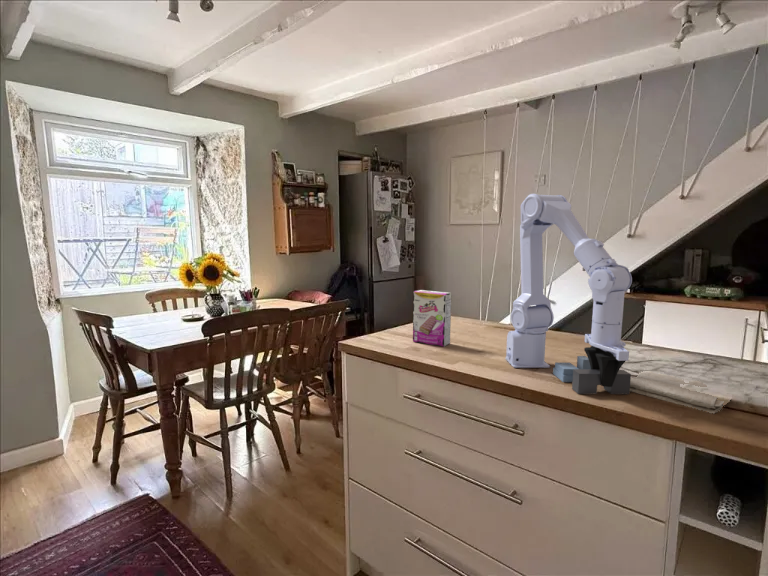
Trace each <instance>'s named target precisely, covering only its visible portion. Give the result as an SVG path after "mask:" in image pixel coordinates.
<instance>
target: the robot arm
mask: <svg viewBox="0 0 768 576" xmlns="http://www.w3.org/2000/svg"><path fill="white" fill-rule="evenodd" d="M553 225H556V227H557V228H558V229H559V230H560V231H561V232H562V234H563V235H564V236H565V237H566V239H568V241H569V242H570V243H571V244H572V246H573V247H574V250H573V256H574V257H575V259H576V260H577V261H578V262H579V264H580V266H581V267H582V268H583V269H584V270H585V273H586V274H587V275H588V276H589V278H588V279H587V283H588V286H589V288H590V290H591V298H592V301H593V304H592V316H591V317H592V318H591V320H592V321H591V330H590V331H591V332H590V333H585V334H584V343H586V344H589V345H590V347H589V346H588V347H586V346H585V347H584V348H583V349H584V352H585V355H586V357H588V359H589V362H590V367H591V369H600V382H601V385H600V386H601V387H603V388H604V387H612V385H613V383H614V380H615V378H616V375H617V373H618V371H619V370H621V368H622V366H623V365H624V364H625V363H626V362H628V361H630V360H629V357H630V356H629V355H630V351H629V350H627V349H626V348H625V347H626V344H627V343H626V342H624V341H622V330H623V329H622V328H623V317H624V306H625V305H624V303H625V294H626V293H625V292H626V291H628V290H629V289H630V287H631V285H632V283H633V277H632V274H631V271H630V270H629V268H628V267H627V266H624V265H621V264H618V263H617V261H616V260H615V258H612V257H611V255H610V254H609V253H608V251H607V250H606V248H605V244H604V243H603V242H602V241H601V240H598V239H597V238H590V237H589V235H588V234H587V233H586V231H585V230H584V228H583V226H582V225H581V223H580V221H579V220H578V219H577V217H576V216H575V214H574V212H573V211H572V204H571V203H570V202H569V201H568V200H567V197H565V196H564V195H561V194H556V195H555V194H552V195H551V194H538V193H530V194H528V195H527V196H526V197H525V199H523V201H522V202H521V204H520V225H519V243H520V244H519V246H520V247H519V248H520V250H519V251H520V288H521V292H520V293H521V294H520V295H519V296H518V297H517V298H516V299H514V301H513V302H512V310H511V313H510V321H511V324H512V326H513V328H514V330H510V331H507V336H506V350H505V351H506V353H505V354H506V355H505V360H506V361H507V362H508V363H509V365H511V367H513V368H521V369H522V368H523V369H524V368H525V369H526V368H527V369H528V368H531V369H532V368H533V369H534V368H539V369H540V368H543V369H544V368H545V369H546V368H551V365H550V364H548V363H547V361H545V359H546V357H545V356H546V354H545V353H546V338H547V337H546V336H547V332H549V328H550V327H551V326H552V325H553V322H554V319H555V317H554V313H553V310H552V309H553V308H552V306H551V300H550V299H549V298H548V297H547V296H546V295H545V294H544V264H543V263H544V258H543V257H544V256H543V250H544V249H543V234H544V232H545V231H547V229H549V228H550V227H552V226H553Z"/></svg>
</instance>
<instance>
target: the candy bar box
mask: <svg viewBox="0 0 768 576" xmlns="http://www.w3.org/2000/svg"><path fill="white" fill-rule="evenodd" d="M412 301H413V302H412V303H413V309H412V311H413V312H412V314H413V315H412V316H413V317H412V342H413V343H414V342H415V343H421V344H424V345H425V344H426V345H433V346H438V347H446V346H448V345H450V344H451V325H452V324H451V323H452V322H451V320H452V317H451V316H452V293H451V292H447V291H435V290H425V289H418V290H414V291H413V300H412Z"/></svg>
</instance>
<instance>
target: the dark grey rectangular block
mask: <svg viewBox="0 0 768 576" xmlns="http://www.w3.org/2000/svg"><path fill="white" fill-rule="evenodd" d="M631 378H632V374H631V373H630V372H628V371H627V370H625V369H619V371H618V373H617V375H616V378H615V380H614V383H613V385H612V387H603V390H604V391H605V392H606V393H609V394H610V395H630V393H631V391H630V380H631ZM571 383H572V384H571V385H572V388H571V389H572V390H573V391H574V392H575V393H576V394H578V395H597V393H598V386H602V385H601V382H600V369H573V382H571Z"/></svg>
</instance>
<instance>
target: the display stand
mask: <svg viewBox="0 0 768 576" xmlns="http://www.w3.org/2000/svg"><path fill="white" fill-rule="evenodd" d="M576 359H577V361H576V366H575V365H574V364H572V362H557V361H556V362H555V363H554V367H553V368H552V374H553V375H554V376H555V377H556V378H557V379H559V381H561V382H562V383H572V382H573V369H591V367H590V362H589V359H588V357H587V355H586V356H585V355H577V357H576Z"/></svg>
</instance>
